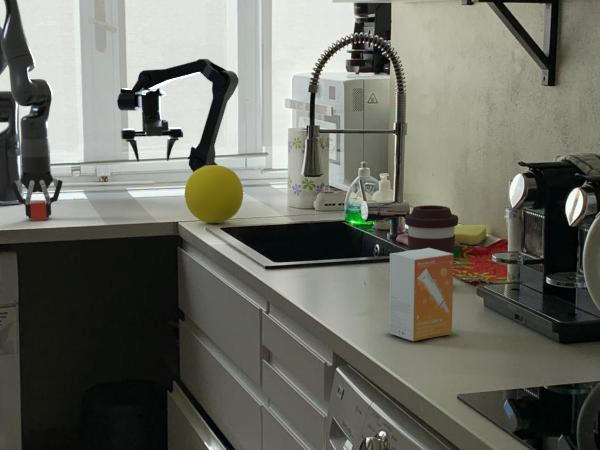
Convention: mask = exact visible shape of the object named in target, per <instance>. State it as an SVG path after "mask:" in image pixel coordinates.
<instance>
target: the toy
mask: <svg viewBox="0 0 600 450" xmlns="http://www.w3.org/2000/svg"><path fill="white" fill-rule="evenodd" d="M184 199H185V203H186V204H185V205H186V206H187V209H188V210H189V212H190V213H191V214H192V216H194V218H196V219H197V220H199V221H202V222H205V223H209V224H217V223H218V224H219V223H223V222H226V221H228V220H230V219H232V218H234V217H235V216H236V214H237V213H238V212H239V211H240V209H241V206H242V205H243V200H244V189H243V184H242V181H241V180H240V178H239V176H238V175H237V174H236V172H234V170H232V169H230V168H229V167H226V166H223V165H218V164H217V165H209V166H204V167H201V168H199V169H197V170H196V171H195V172H193V171H192V174H190V176H189V177H188V179H187V181H186V184H185V188H184Z"/></svg>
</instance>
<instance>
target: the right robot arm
mask: <svg viewBox="0 0 600 450" xmlns="http://www.w3.org/2000/svg"><path fill="white" fill-rule="evenodd" d="M197 74H201V75H202V76H203V77H204V78H206V80H208V81H209V82H211V96H212V99H211V102H210V105H209V109H208V113H207V116H206V120H205V122H204V127H203V130H202V134H201V137H200V141H199V143H198V144H196V145H193V146H191V147H190V152H189V156H188V157H187V160H188V166H189V168H190V170H191V171H192V173H193V172H195V171H196V170H197V169H199V168H201V167H204V166H209V165H218V163H217V162H216V148H215V146H216V141H217V138H218V135H219V132H220V128H221V125H222V121H223V118H224V114H225V111H226V108H227V104H228V102H229V100H230V99H231V98H232V96H233V95H234V93H235V91H236V89H237V87H238V85H239V82H240V81H239V77H238V74H237V73H236V72H234V71H233V70H227V69H225V68H224V67H222V66H220V65H218V64H217V63H214V62H213V61H211V60H210V59H209V58H199V59H197V60H194V61H190V62H186V63H183V64H179V65H174V66H171V67H168V68H167V67H166V68H159V69H145V70H142V71H140V72H139V74H138V77H137V80H136V82H135V84H134V85H133V87H132V88H120V92H119V94H118V97H117V100H116V105H117V108H118V109H119V110H120V111H127V112H128V111H134V112H135V111H139V110H141V122H142V123H141V124H142V130H136V129H135V128H122V129H121V130H120V138H121V140H125V142H126V143H129V144H130V146H131V148H132V151H133V153H134V156H135V159H136V161H137V163H139V161H140V156H139V149H138V143H137V139H136V138H141V137H167V141H166V161H167V162H168V161H170V157H171V153H172V150H173V147H174V145H175V143H176V141H180V138H184V130H183V129H182V128H181V127H178V126H177V127H169V119H162V115H161V113H162V112H161V97H166V96H167V92H165V91H164V90H163V88H161V87H162V86H164V85H166V84H168V83H169V82H172V81H174V80H178V79H183V78H186V77H189V76H194V75H197ZM152 89H156V90H152ZM145 92H146V93H145Z"/></svg>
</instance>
